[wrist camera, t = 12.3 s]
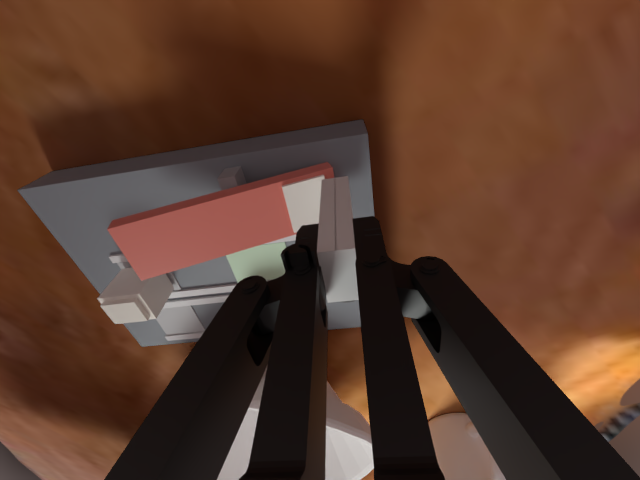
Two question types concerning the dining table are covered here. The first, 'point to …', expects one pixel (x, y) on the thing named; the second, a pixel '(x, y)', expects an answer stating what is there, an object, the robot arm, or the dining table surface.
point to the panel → (183, 184)
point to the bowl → (341, 441)
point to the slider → (135, 297)
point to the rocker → (220, 222)
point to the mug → (462, 449)
